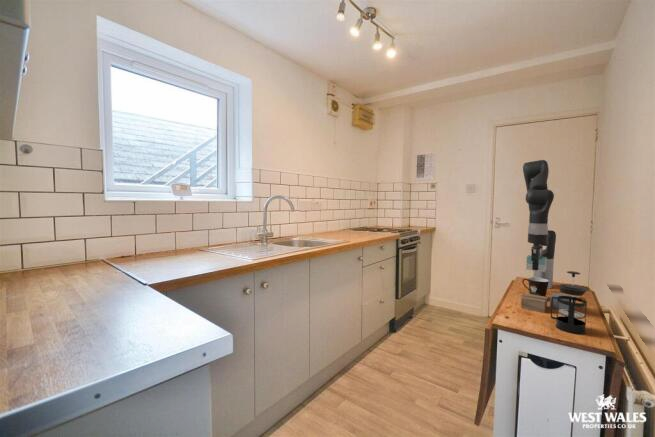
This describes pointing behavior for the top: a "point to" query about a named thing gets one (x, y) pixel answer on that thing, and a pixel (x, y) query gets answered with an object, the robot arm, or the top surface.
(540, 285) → the coffee mug
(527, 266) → the teal rectangular block
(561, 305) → the stand
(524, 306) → the stand
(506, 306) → the top surface
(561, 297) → the french press
